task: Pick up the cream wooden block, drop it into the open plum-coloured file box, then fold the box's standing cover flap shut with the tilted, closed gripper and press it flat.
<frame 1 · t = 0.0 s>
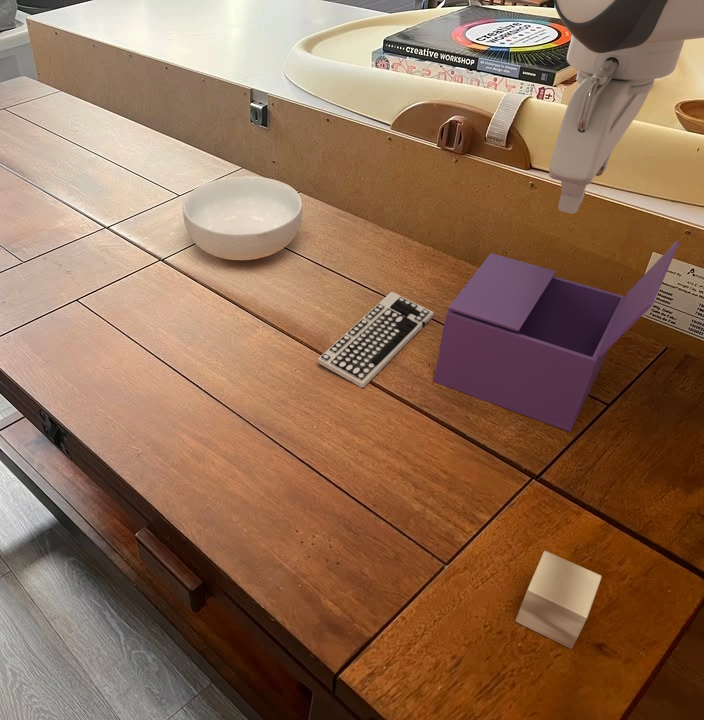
hand: (581, 190, 75), 21 cm above the table, tool pointing down, fingers open, 8 cm apart
block: (551, 615, 62), on the table
keyboard: (377, 342, 92), on the table
file box: (518, 373, 86), on the table
cereal bowl: (242, 247, 110), on the table
flap: (639, 297, 74), point 14 cm above the table, hinge at 110.0°
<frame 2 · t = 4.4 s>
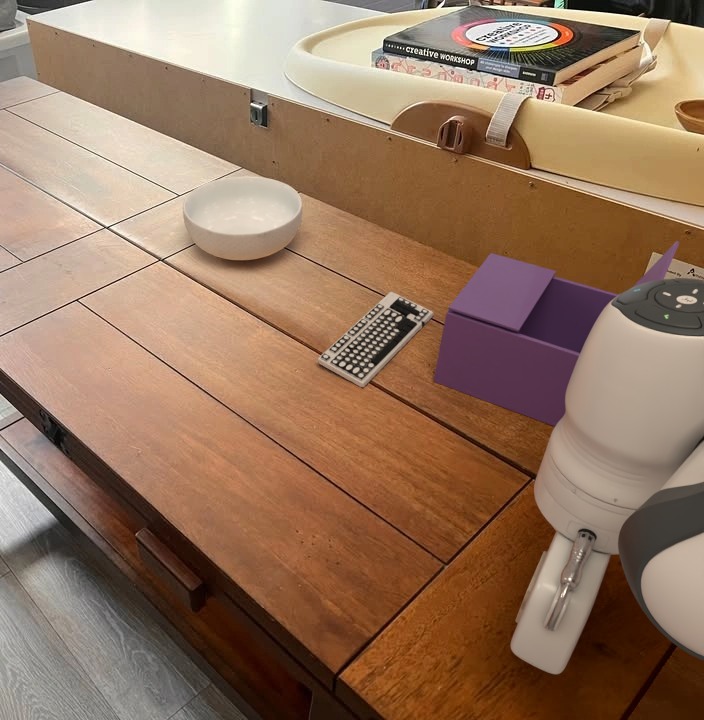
hand: (556, 603, 61), 2 cm above the table, tool pointing down, fingers closed on block, 4 cm apart
block: (550, 615, 62), on the table, touching gripper
everything else where it was.
when the fingers open (12 cm above the table, at t = 10.8 s): block drops 10 cm, resting on file box.
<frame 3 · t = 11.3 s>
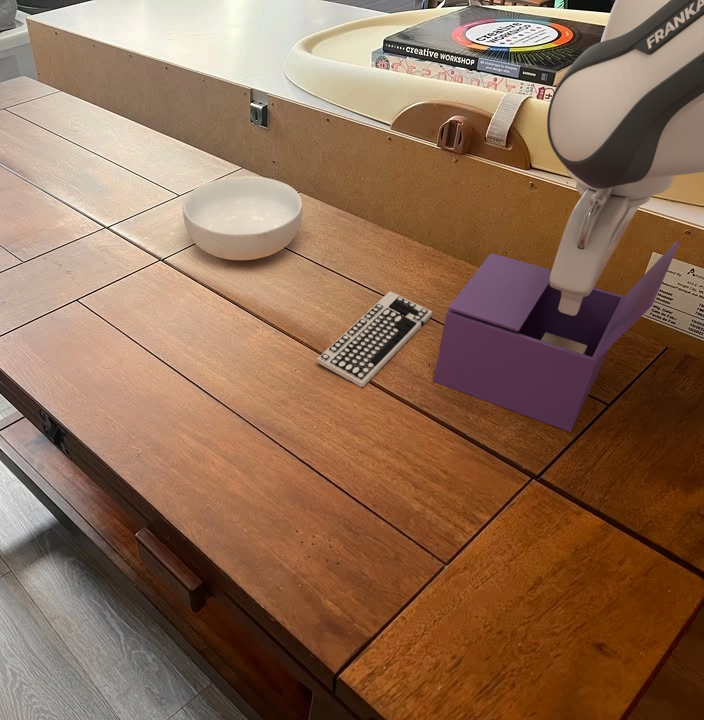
hand: (581, 287, 76), 13 cm above the table, tool pointing down, fingers open, 8 cm apart
block: (550, 381, 84), resting on file box
everything else where it was.
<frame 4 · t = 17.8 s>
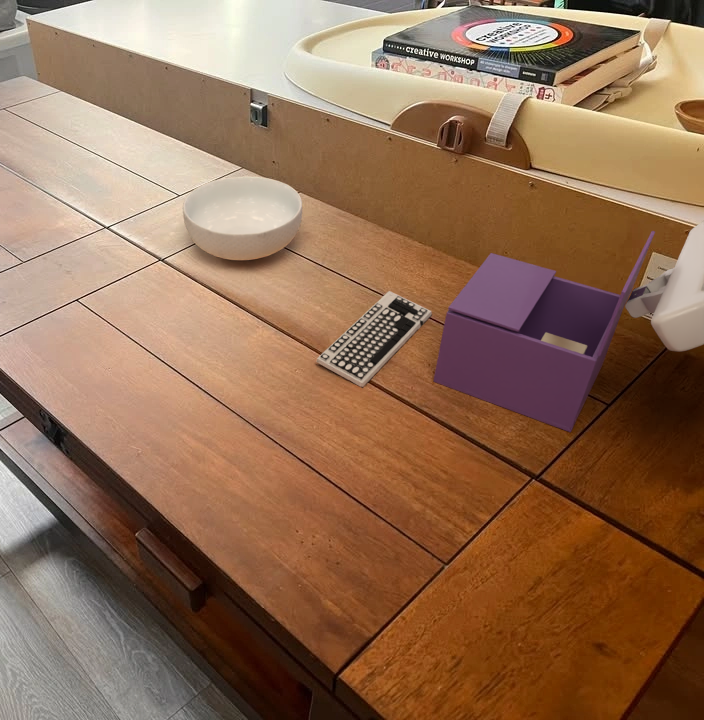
hand: (631, 304, 75), 12 cm above the table, tool tilted 45°, fingers closed, pressing on flap
flap: (626, 292, 74), point 14 cm above the table, hinge at 90.9°, touching gripper
everything else where it was.
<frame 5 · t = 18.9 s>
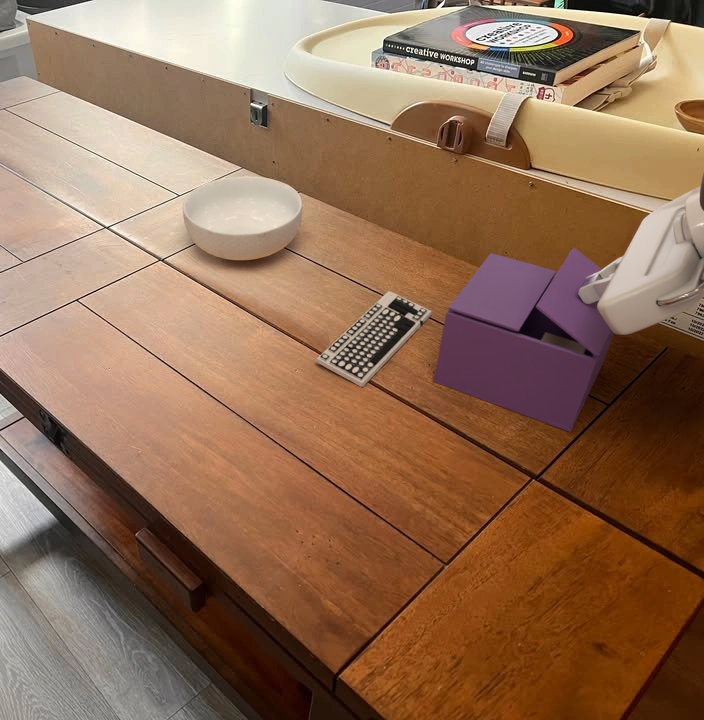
hand: (584, 291, 77), 12 cm above the table, tool tilted 45°, fingers closed
flap: (584, 298, 77), point 12 cm above the table, hinge at 26.8°, touching gripper
everything else where it was.
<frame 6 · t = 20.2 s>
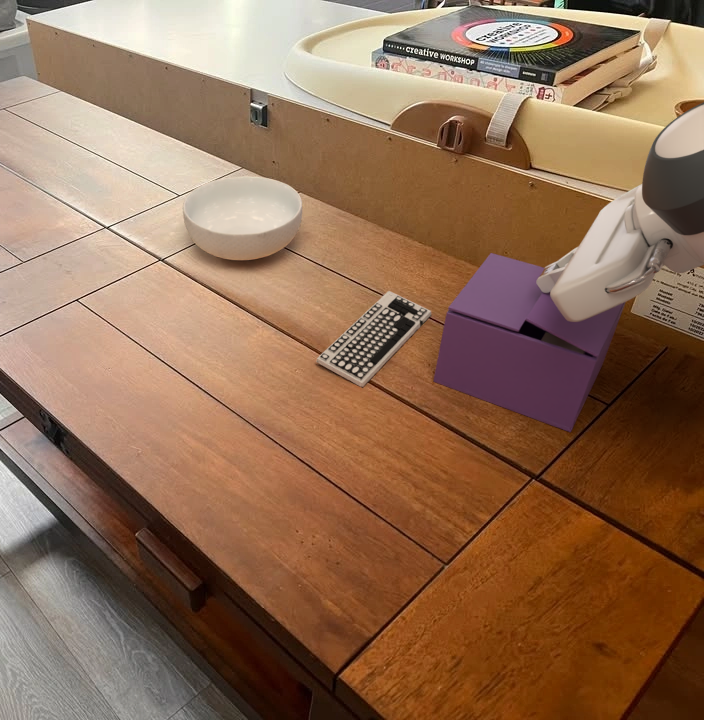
hand: (543, 281, 78), 12 cm above the table, tool tilted 45°, fingers closed, pressing on flap
flap: (578, 305, 78), point 11 cm above the table, hinge at 12.4°, touching gripper
everything else where it was.
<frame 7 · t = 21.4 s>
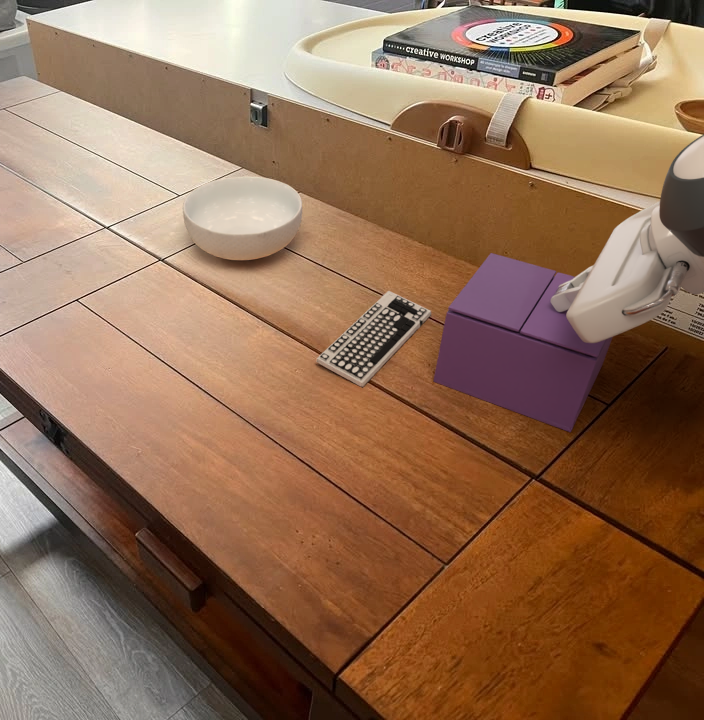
hand: (557, 299, 79), 11 cm above the table, tool tilted 45°, fingers closed, pressing on flap
flap: (575, 311, 78), point 10 cm above the table, hinge at -0.6°, touching gripper
everything else where it was.
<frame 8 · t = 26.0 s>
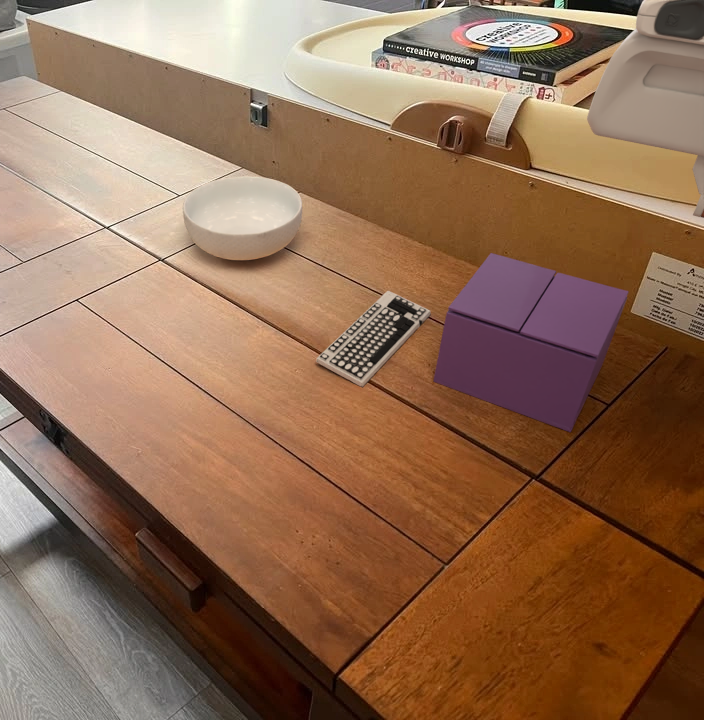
flap: (575, 311, 78), point 10 cm above the table, hinge at -0.9°
everything else where it was.
at the end: block inside the target area in the file box (3.5 cm from its centre), point 0.5 cm above the file box's base; flap at -1° (first picture: +110°) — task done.
